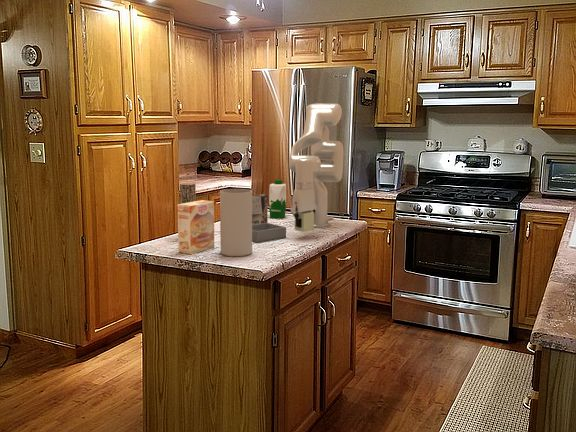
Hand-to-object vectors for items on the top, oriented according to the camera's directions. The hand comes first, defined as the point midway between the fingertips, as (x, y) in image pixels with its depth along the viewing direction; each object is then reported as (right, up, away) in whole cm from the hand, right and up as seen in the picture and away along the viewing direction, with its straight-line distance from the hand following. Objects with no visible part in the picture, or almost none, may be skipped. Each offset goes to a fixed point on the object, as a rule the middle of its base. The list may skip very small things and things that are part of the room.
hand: (304, 225), depth 255 cm
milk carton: (-13, +3, +53) cm, 55 cm away
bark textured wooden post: (-51, -6, -1) cm, 52 cm away
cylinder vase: (-28, -11, -28) cm, 41 cm away
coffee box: (-21, -2, +25) cm, 33 cm away
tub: (-19, -6, +1) cm, 20 cm away
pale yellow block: (0, -2, 0) cm, 2 cm away
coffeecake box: (-44, -10, -22) cm, 51 cm away
